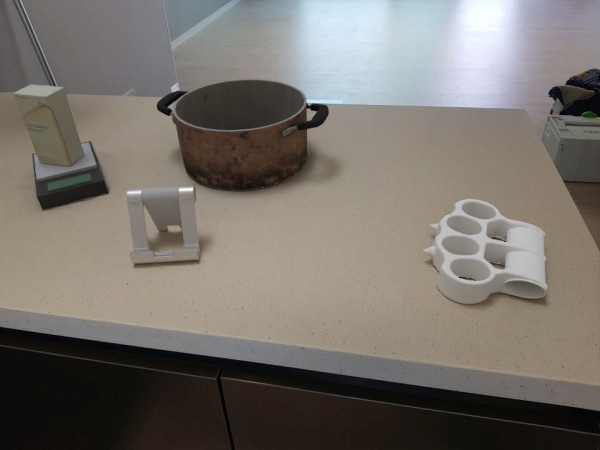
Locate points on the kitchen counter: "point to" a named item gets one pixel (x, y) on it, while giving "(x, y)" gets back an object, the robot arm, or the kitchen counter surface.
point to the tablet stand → (163, 221)
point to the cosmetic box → (49, 124)
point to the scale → (69, 180)
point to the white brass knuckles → (487, 254)
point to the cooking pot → (242, 131)
